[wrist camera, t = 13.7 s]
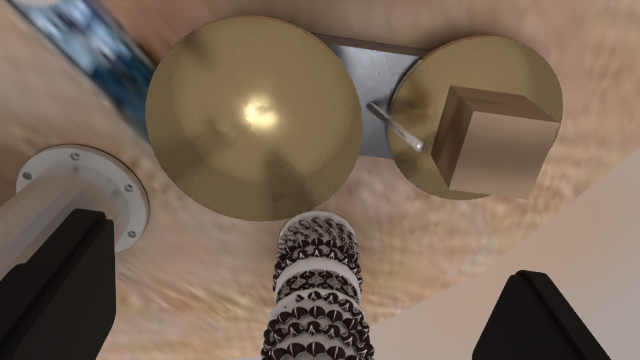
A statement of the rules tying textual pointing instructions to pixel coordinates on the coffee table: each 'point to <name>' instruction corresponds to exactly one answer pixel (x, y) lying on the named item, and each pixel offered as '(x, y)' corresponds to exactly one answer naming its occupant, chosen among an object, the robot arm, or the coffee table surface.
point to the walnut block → (492, 142)
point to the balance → (315, 110)
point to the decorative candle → (317, 293)
